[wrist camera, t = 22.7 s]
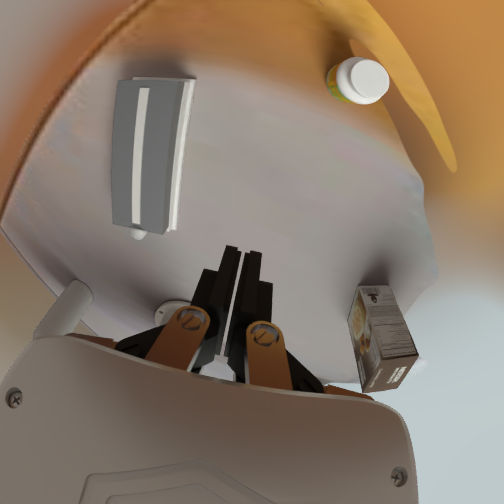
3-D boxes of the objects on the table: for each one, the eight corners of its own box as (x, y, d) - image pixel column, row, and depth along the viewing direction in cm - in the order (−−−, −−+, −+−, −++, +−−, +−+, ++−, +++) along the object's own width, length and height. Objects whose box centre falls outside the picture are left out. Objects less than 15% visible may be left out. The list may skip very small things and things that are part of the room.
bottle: (97, 304, 52) (37, 406, 29) (77, 301, 53) (18, 394, 29) (87, 280, 49) (16, 385, 25) (66, 278, 50) (-3, 373, 26)
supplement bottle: (318, 90, 29) (333, 86, 20) (335, 56, 26) (356, 42, 18) (355, 110, 29) (382, 115, 21) (372, 77, 27) (404, 73, 18)
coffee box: (377, 320, 48) (397, 390, 34) (346, 321, 48) (360, 394, 35) (389, 283, 43) (420, 356, 29) (356, 284, 43) (379, 361, 30)
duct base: (177, 227, 41) (172, 235, 39) (126, 217, 40) (119, 223, 38) (196, 80, 29) (191, 78, 27) (135, 77, 29) (127, 76, 27)
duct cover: (168, 236, 38) (161, 246, 36) (121, 226, 38) (112, 234, 36) (184, 81, 27) (177, 80, 25) (127, 80, 26) (117, 80, 24)
